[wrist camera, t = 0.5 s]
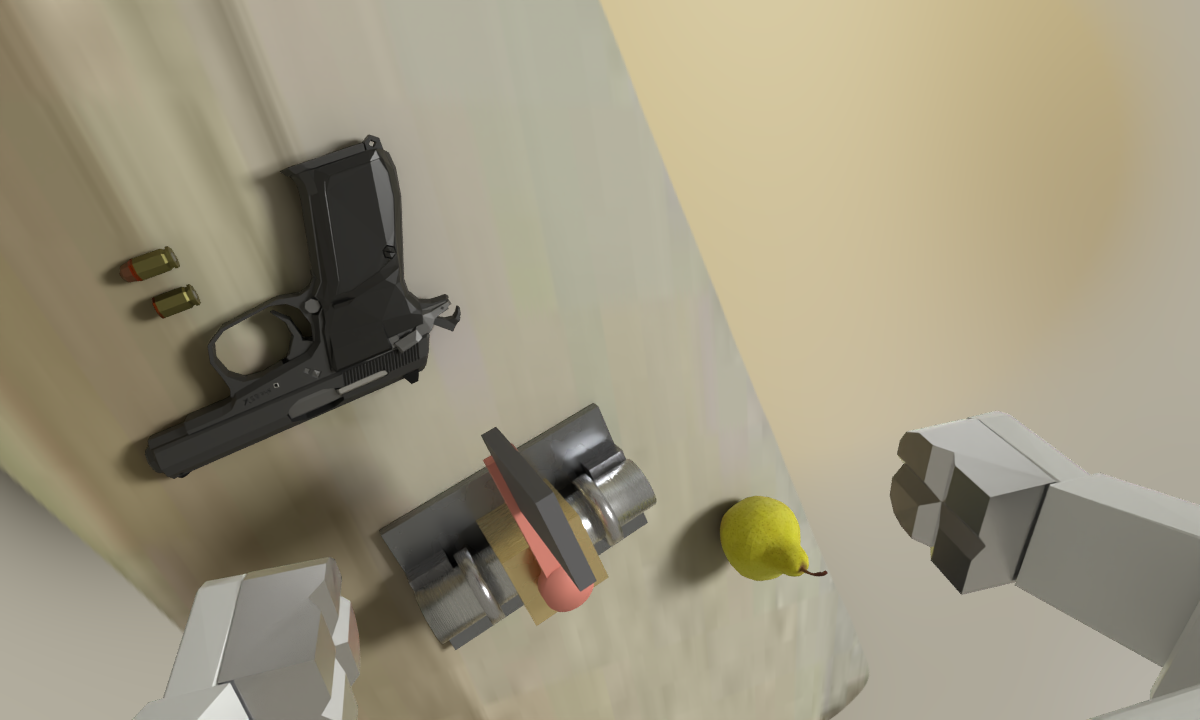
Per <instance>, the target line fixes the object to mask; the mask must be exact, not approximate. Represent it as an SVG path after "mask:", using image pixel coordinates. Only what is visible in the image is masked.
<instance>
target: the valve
mask: <svg viewBox="0 0 1200 720" xmlns="http://www.w3.org/2000/svg"><path fill="white" fill-rule="evenodd" d="M517 451H518V452H519V454H520V455H521V456H522V457H523V458H524V459H525V460H526V461H527V463H528V464H529V465H530V466H531V467H532V468H533V469H534V471H535V472H536V473H537V474H538V475H539V476H540V477H541V479H542V480H543V481H544V482H545V483H546V484H547V485H548V487H549V488H550V489H551V490H552V491H553V492H554V494H555V496H556V498H557V500H558V502H559V504H560V507H561V509H562V511H563V513H564V515H565V517H566V519H567V521H568V523H569V525H570V527H571V529H572V531H573V533H574V535H575V537H576V539H577V541H578V543H579V545H580V547H581V549H582V551H583V553H584V555H585V557H586V560H587V562H588V564H589V566H590V568H591V570H592V572H593V574H594V576H595V578H596V580H597V581H596V582H595V583H594V587H595V586H596V585H598V584H599V583H601V582H602V581H604V580H605V579H607V578H608V575H607V573H606V571H605V569H604V567H603V564H602V562H601V560H600V558H599V556H598V555H600V554H601V553H603V552H604V551H606V550H607V549H609V548H610V547H612V546H613V545H615V544H616V543H618V542H619V541H621V540H622V539H624V538H625V537H627V536H628V535H630V534H631V533H633V532H634V531H636V530H637V529H639V528H640V527H642V526H643V525H645V524H646V523H648V522H647V520H646V517H645V515H644V513H643V512H644V511H646V510H647V509H649V508H650V507H652V506H653V505H655V504H656V497H655V494H654V492H653V489H652V487H651V485H650V484H649V482H648V480H647V479H646V477H645V475H644V474H643V473H642V471H641V470H640V469H639V467H638V466H637V465H636V464H635V463H634V462H633V461H631V460H630V459H627V460H626V458H625V456H624V453H623V451H622V450H621V449H620V448H619V447H618V446H617V445H615V444H614V442H613V440H612V438H611V435H610V433H609V430H608V428H607V426H606V423H605V421H604V419H603V416H602V414H601V412H600V409H599V407H598V406H597V405H596V404H594V403H593V404H591V405H590V406H588V407H586V408H585V409H583V410H581V411H579V412H578V413H576V414H574V415H573V416H571V417H569V418H568V419H566V420H564V421H563V422H561V423H559V424H558V425H556V426H554V427H552V428H551V429H549V430H547V431H546V432H544V433H542V434H541V435H539V436H537V437H536V438H534V439H532V440H531V441H529V442H527V443H525V444H524V445H522V446H520V447H519V448H517ZM379 531H380V534H381V536H382V538H383V539H384V541H385V542H386V544H387V546H388V547H389V549H390V550H391V552H392V553H393V555H394V556H395V558H396V559H397V561H398V562H399V564H400V566H401V567H402V569H403V570H404V572H405V574H406V576H407V579H408V582H409V584H410V585H411V587H412V589H413V590H414V592H415V593H414V594H415V598H416V600H417V603H418V605H419V607H420V609H421V611H422V613H423V615H424V617H425V619H426V621H427V622H428V624H429V626H430V628H431V629H432V631H433V633H434V634H435V636H436V637H437V639H438V640H439V641H440V642H441V643H442V644H444V643H445V642H447V641H448V640H449V641H450V642H451V644H452V645H453V647H454V648H455V650H457V649H458V648H460V647H461V646H463V645H464V644H466V643H467V642H469V641H470V640H472V639H473V638H475V637H476V636H478V635H479V634H481V633H482V632H484V631H485V630H487V629H488V628H490V627H491V626H493V625H494V624H496V623H497V622H499V621H500V620H502V619H503V618H505V617H506V616H508V615H509V614H511V613H512V612H514V611H515V610H517V609H518V608H520V607H521V606H523V605H525V607H526V609H527V610H528V612H529V614H530V616H531V617H532V619H533V621H534V622H535V624H536V626H537V625H539V624H540V623H542V622H543V621H545V620H546V619H548V618H549V617H551V616H552V615H553V614H555V613H556V612H558V611H555V610H553V609H551V608H550V607H549V606H548V605H547V603H546V602H545V600H544V599H543V597H542V596H541V594H540V592H539V590H538V578H539V575H540V573H541V571H542V570H541V568H540V566H539V564H538V563H537V561H536V559H535V557H534V555H533V553H532V551H531V549H530V548H529V546H528V544H527V542H526V540H525V538H524V536H523V534H522V533H521V531H520V529H519V527H518V525H517V523H516V521H515V519H514V518H513V516H512V514H511V512H510V510H509V508H508V506H507V504H506V503H505V501H504V499H503V497H502V495H501V493H500V491H499V489H498V488H497V486H496V484H495V482H494V480H493V478H492V476H491V474H490V473H489V471H488V469H487V467H485V468H483V469H482V470H480V471H478V472H477V473H475V474H473V475H472V476H470V477H468V478H466V479H465V480H463V481H461V482H460V483H458V484H456V485H455V486H453V487H451V488H450V489H448V490H446V491H445V492H443V493H441V494H439V495H438V496H436V497H434V498H433V499H431V500H429V501H428V502H426V503H424V504H423V505H421V506H419V507H418V508H416V509H414V510H413V511H411V512H409V513H407V514H406V515H404V516H402V517H401V518H399V519H397V520H396V521H394V522H392V523H391V524H389V525H387V526H386V527H384V528H382V529H380V530H379Z"/></svg>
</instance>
